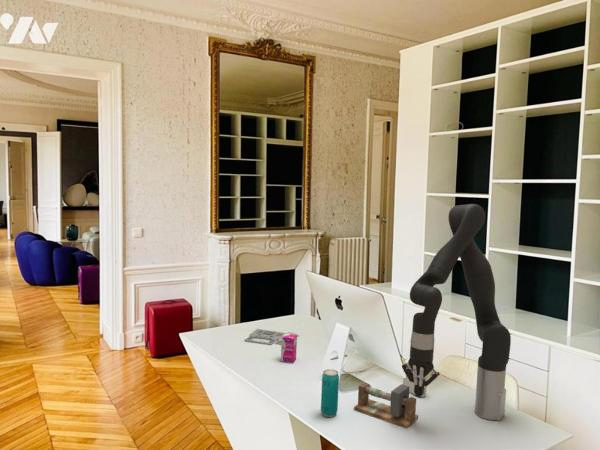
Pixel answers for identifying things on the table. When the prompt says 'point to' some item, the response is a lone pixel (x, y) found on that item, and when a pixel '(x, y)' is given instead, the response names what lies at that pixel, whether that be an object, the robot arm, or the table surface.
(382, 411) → the rail
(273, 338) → the office telephone
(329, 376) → the beverage can
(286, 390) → the table surface
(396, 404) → the collar
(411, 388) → the photo printer
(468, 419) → the table surface
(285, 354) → the supplement box
